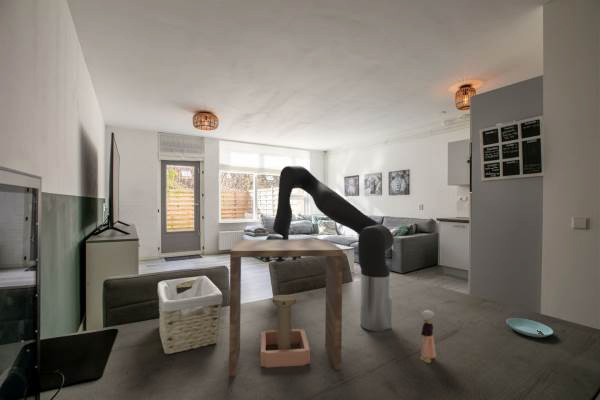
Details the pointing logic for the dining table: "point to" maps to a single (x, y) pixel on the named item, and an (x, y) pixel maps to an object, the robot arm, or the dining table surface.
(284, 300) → the handle
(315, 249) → the wooden footstool
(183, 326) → the storage basket
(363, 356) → the dining table surface
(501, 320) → the dining table surface
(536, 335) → the saucer
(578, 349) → the dining table surface
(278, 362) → the socket
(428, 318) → the grandmother figurine
